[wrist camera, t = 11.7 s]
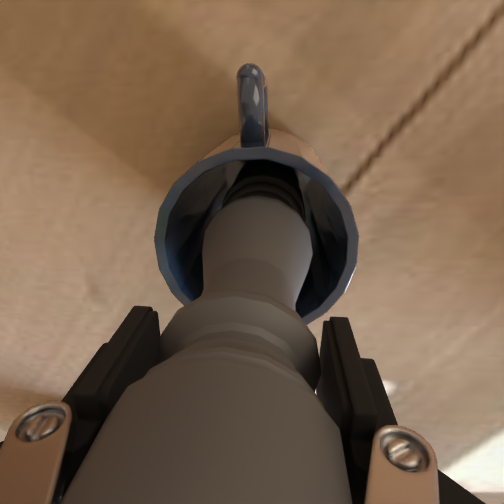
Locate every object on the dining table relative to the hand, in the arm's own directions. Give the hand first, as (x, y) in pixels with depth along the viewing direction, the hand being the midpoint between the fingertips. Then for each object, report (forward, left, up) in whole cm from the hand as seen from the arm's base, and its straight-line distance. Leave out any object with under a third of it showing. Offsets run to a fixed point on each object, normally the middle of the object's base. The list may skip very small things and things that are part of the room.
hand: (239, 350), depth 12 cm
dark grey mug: (-1, -1, -21) cm, 21 cm away
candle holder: (0, 0, -18) cm, 18 cm away
